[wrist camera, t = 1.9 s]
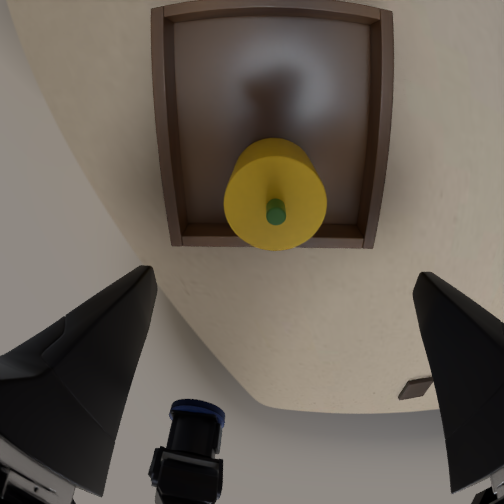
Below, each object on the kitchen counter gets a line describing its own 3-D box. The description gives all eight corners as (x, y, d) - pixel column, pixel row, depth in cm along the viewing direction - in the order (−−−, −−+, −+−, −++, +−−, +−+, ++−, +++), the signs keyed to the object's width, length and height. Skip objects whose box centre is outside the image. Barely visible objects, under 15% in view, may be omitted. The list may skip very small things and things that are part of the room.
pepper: (236, 209, 20) (223, 263, 14) (233, 136, 17) (216, 162, 12) (310, 210, 20) (325, 264, 14) (314, 137, 17) (336, 164, 12)
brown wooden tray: (180, 230, 22) (171, 246, 20) (163, 15, 13) (150, 8, 11) (364, 232, 21) (373, 249, 19) (379, 18, 13) (392, 11, 11)
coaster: (397, 396, 33) (398, 400, 33) (408, 380, 31) (409, 384, 31) (421, 392, 33) (422, 396, 32) (433, 376, 31) (434, 380, 30)
